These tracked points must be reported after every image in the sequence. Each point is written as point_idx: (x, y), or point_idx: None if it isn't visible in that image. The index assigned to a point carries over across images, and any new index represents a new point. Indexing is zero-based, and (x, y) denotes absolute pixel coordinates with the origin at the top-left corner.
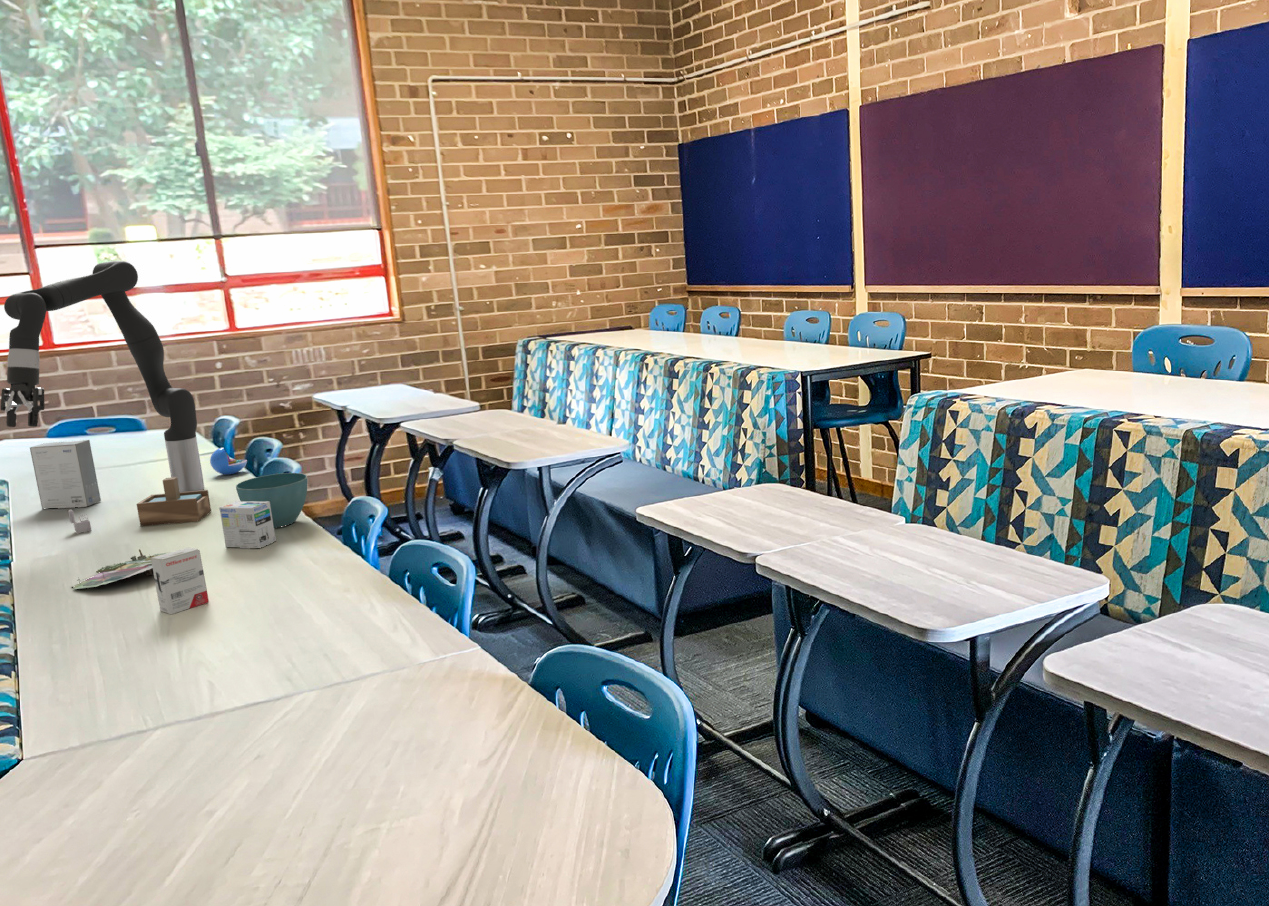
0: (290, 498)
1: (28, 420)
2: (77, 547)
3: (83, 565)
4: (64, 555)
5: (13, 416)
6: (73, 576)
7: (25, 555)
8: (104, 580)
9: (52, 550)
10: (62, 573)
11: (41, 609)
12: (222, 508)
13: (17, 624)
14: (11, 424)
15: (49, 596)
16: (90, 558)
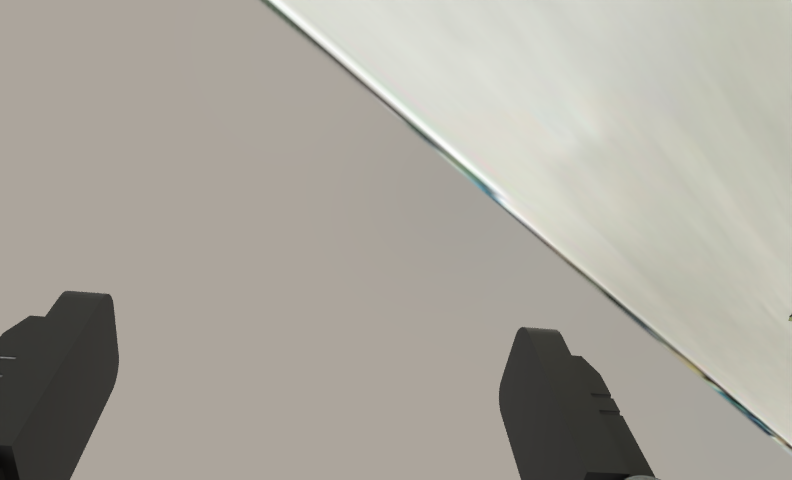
0: None
1: (522, 456)
2: (638, 59)
3: (756, 211)
4: (640, 140)
5: (48, 436)
6: (764, 272)
7: (490, 145)
8: None
9: (555, 94)
10: (723, 259)
11: (776, 386)
12: None
13: (763, 420)
14: (104, 360)
15: (762, 351)
16: (751, 161)
